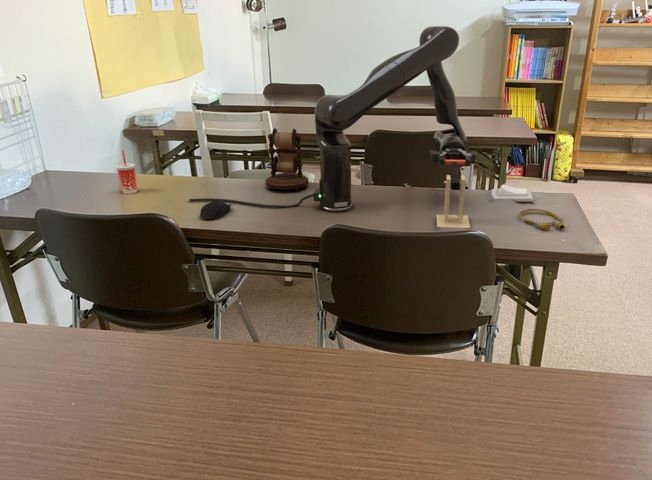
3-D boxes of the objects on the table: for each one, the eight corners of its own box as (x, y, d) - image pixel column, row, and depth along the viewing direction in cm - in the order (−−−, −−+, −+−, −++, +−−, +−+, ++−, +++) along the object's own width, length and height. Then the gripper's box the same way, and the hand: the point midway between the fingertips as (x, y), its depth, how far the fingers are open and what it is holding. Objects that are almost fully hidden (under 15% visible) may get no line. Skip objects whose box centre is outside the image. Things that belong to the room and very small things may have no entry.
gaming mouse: (239, 205, 174) (238, 193, 173) (214, 221, 161) (213, 208, 160) (221, 204, 176) (220, 191, 174) (195, 219, 163) (194, 206, 162)
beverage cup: (135, 194, 186) (128, 152, 180) (117, 194, 186) (109, 152, 180) (142, 188, 191) (135, 148, 186) (124, 189, 192) (117, 148, 186)
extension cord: (518, 229, 154) (518, 222, 154) (517, 211, 168) (518, 204, 167) (564, 233, 152) (565, 226, 151) (560, 214, 165) (561, 207, 165)
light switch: (491, 181, 185) (531, 181, 182) (490, 193, 187) (530, 193, 184) (491, 191, 175) (534, 191, 173) (491, 203, 177) (533, 203, 174)
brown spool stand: (313, 181, 198) (310, 124, 189) (302, 194, 185) (299, 133, 176) (273, 180, 200) (269, 123, 192) (260, 192, 187) (255, 132, 179)
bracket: (436, 218, 163) (438, 172, 157) (467, 219, 162) (471, 172, 156) (437, 230, 154) (439, 182, 148) (470, 231, 153) (474, 182, 147)
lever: (443, 164, 163) (444, 157, 161) (464, 164, 162) (465, 157, 160) (444, 190, 153) (444, 182, 151) (466, 190, 152) (467, 183, 151)
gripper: (429, 137, 173) (430, 149, 157) (476, 138, 171) (482, 149, 156) (428, 161, 176) (429, 175, 160) (474, 162, 174) (479, 176, 159)
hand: (455, 162), depth 158 cm, fingers closed on lever, 6 cm apart
